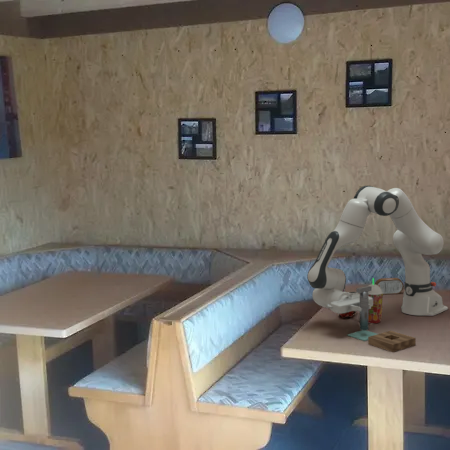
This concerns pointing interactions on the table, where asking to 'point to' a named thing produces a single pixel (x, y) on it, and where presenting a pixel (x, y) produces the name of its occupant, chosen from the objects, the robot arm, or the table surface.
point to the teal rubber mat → (362, 335)
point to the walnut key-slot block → (392, 341)
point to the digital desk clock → (390, 285)
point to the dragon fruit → (347, 314)
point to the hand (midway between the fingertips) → (365, 308)
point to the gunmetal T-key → (364, 306)
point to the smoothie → (375, 304)
